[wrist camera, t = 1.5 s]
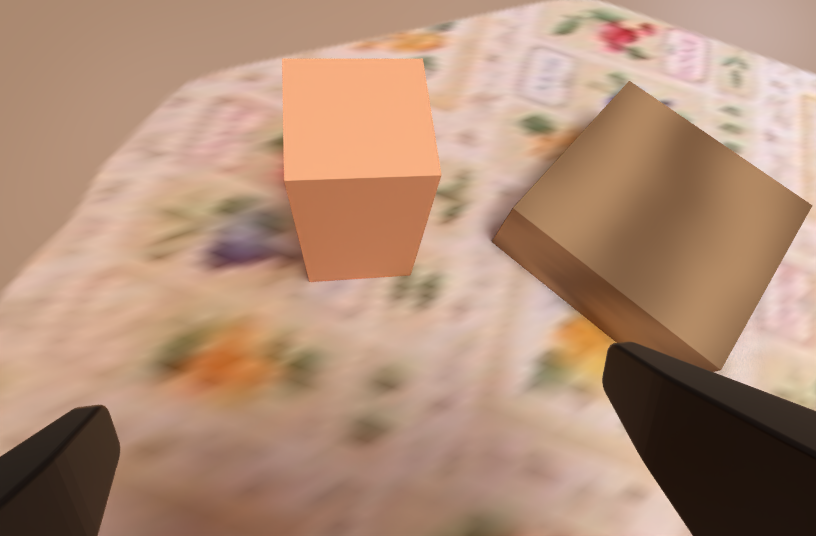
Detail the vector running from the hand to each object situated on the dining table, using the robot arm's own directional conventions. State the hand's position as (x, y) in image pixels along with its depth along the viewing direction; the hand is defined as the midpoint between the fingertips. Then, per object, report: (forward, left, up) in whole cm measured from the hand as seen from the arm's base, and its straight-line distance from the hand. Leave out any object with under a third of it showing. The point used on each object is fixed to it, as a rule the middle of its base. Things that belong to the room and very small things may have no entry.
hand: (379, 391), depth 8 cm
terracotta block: (+7, -7, -13) cm, 16 cm away
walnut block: (-4, -17, -13) cm, 22 cm away
